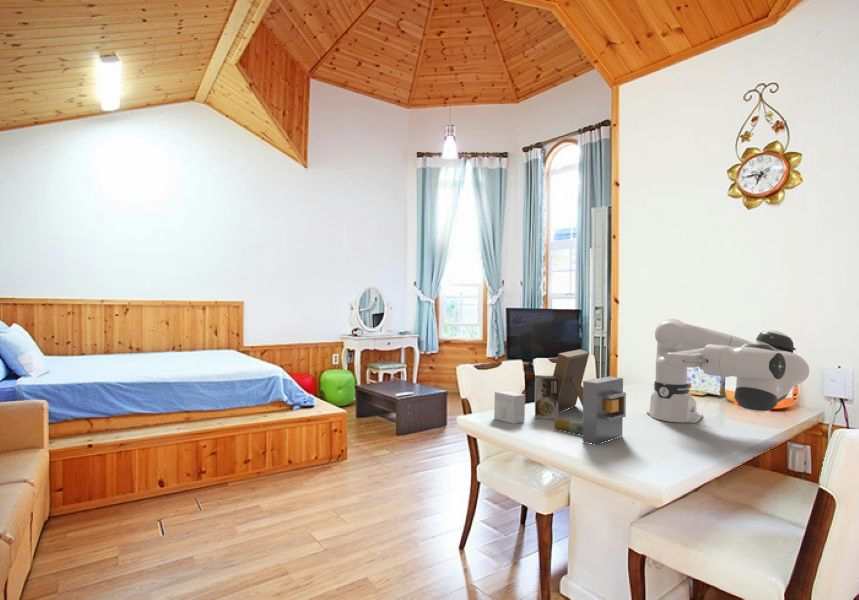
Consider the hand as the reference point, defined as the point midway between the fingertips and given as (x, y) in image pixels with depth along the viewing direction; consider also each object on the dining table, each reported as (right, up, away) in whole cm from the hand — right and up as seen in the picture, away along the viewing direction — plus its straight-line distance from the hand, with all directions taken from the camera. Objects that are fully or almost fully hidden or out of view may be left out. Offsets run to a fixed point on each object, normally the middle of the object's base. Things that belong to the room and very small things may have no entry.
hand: (665, 355), depth 149 cm
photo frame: (-13, -30, +52) cm, 61 cm away
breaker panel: (-14, -30, +12) cm, 35 cm away
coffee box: (-27, -30, +42) cm, 58 cm away
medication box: (-23, -30, +22) cm, 43 cm away
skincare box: (-42, -30, +37) cm, 63 cm away
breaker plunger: (-15, -20, +13) cm, 28 cm away
